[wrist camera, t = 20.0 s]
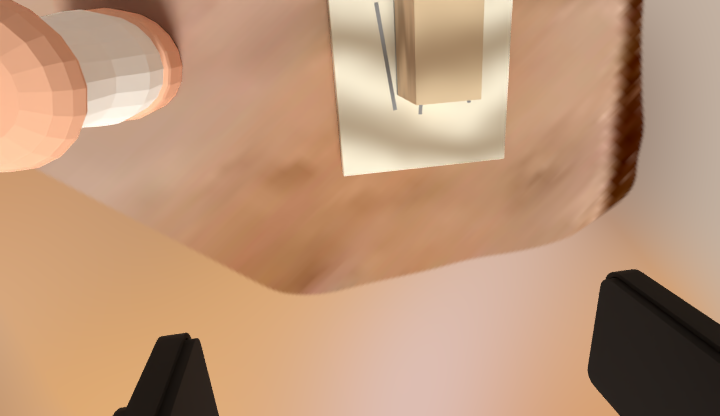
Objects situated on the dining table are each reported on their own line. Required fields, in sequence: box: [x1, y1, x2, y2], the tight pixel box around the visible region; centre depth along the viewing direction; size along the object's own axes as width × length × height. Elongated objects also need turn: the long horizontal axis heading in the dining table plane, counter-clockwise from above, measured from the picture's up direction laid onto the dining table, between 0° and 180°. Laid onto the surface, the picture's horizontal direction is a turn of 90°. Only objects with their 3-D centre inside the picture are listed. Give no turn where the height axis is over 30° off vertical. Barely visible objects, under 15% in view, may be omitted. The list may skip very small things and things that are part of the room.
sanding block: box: [393, 0, 484, 105], centre depth 31 cm, size 7×4×6 cm, turn 4°
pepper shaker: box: [0, 0, 182, 172], centre depth 24 cm, size 7×7×19 cm
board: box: [327, 0, 513, 176], centre depth 34 cm, size 20×14×2 cm
